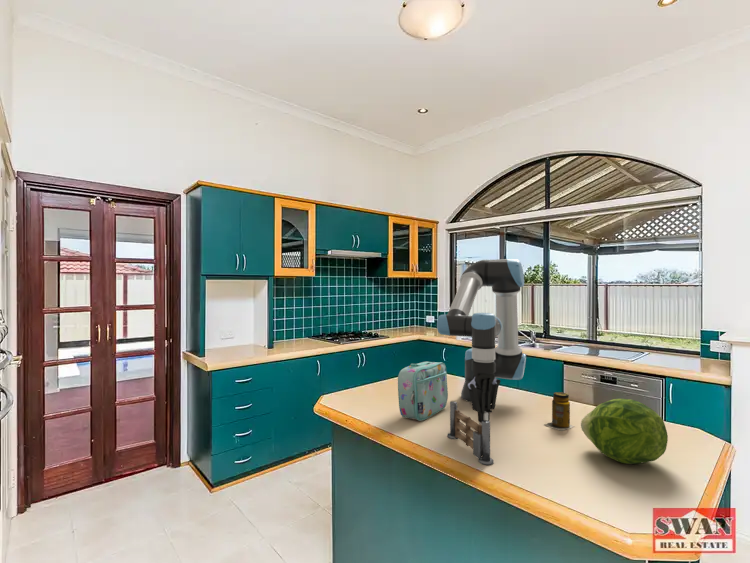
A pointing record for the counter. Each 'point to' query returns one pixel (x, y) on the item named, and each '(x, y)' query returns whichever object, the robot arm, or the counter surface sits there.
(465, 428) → the gate
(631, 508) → the counter surface
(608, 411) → the lettuce
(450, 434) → the hinge post
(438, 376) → the lunch box
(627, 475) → the counter surface
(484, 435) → the post
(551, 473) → the counter surface
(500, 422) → the counter surface
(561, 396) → the condiment
